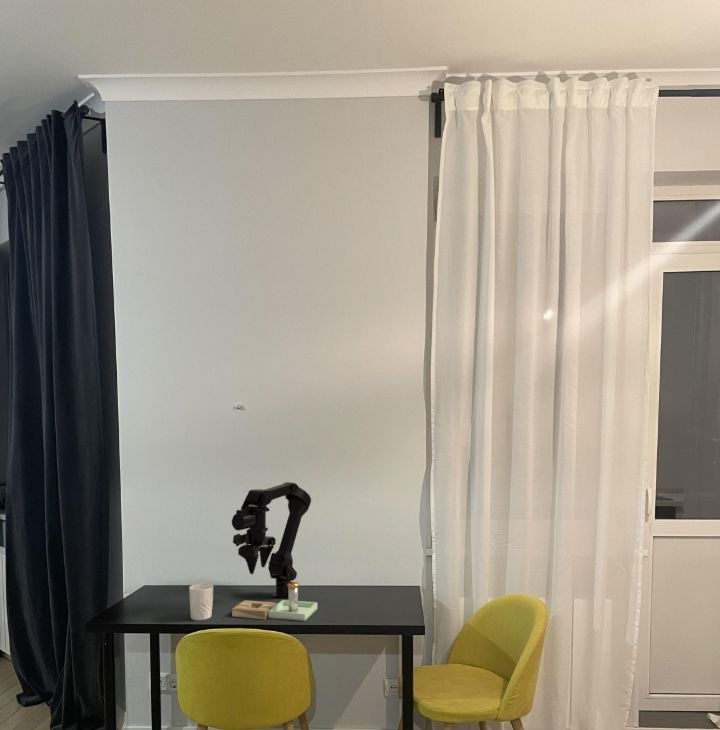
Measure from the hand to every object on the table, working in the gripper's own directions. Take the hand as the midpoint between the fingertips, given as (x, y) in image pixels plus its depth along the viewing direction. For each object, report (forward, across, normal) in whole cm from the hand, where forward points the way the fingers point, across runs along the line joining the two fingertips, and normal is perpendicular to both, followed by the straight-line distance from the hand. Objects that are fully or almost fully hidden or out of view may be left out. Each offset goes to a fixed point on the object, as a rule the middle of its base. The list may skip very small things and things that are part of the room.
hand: (257, 570), depth 207 cm
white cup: (+13, +14, -14) cm, 24 cm away
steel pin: (+12, +3, +15) cm, 19 cm away
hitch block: (+12, +6, +2) cm, 14 cm away
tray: (+12, +3, +15) cm, 20 cm away
